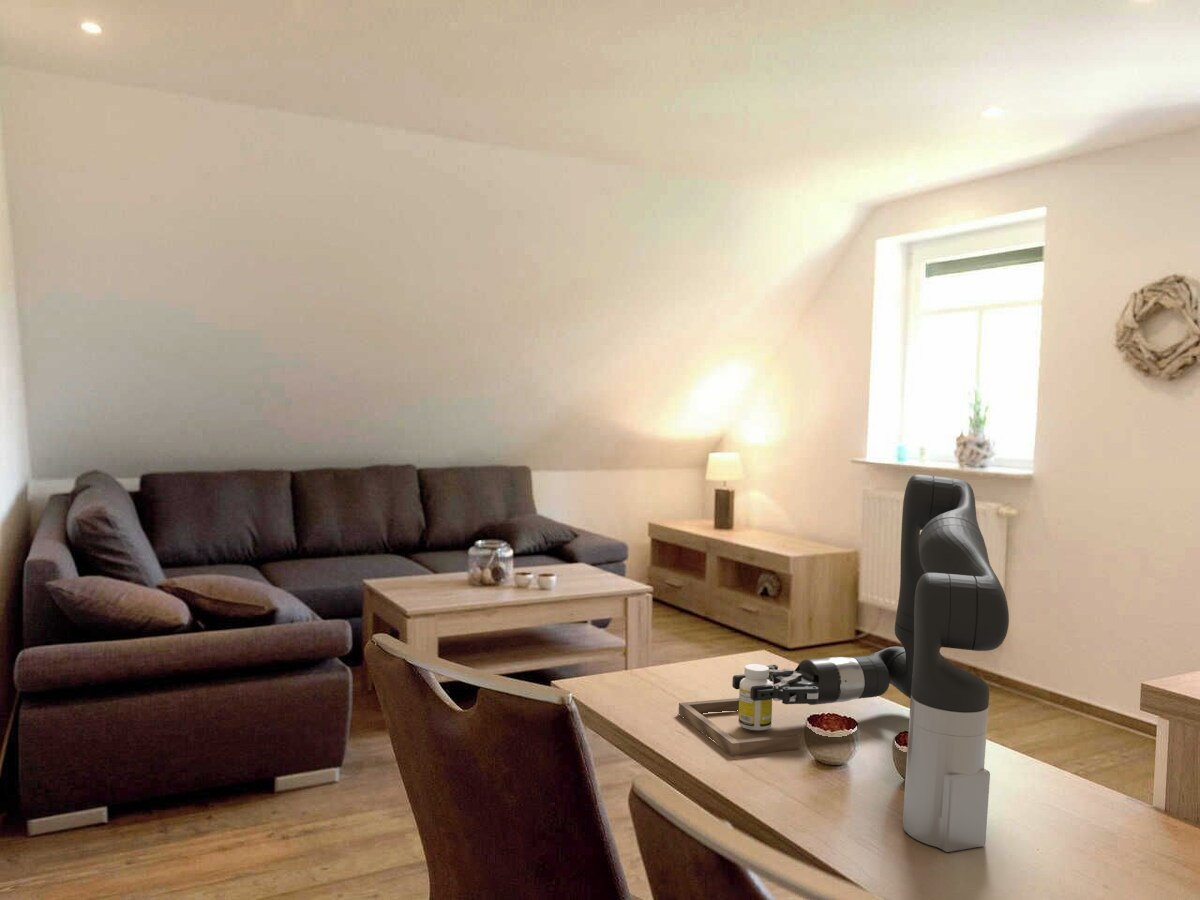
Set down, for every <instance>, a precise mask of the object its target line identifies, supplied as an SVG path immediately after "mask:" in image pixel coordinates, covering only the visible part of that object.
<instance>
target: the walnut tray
mask: <svg viewBox="0 0 1200 900" xmlns="http://www.w3.org/2000/svg"><path fill="white" fill-rule="evenodd" d="M737 710H738V711H739V697H736V698H735V697H734V698H721V699H713V700H712V699H710V700H699V701H698V700H697V701H688V702H687V701H686V702H678V715H679V714H680V715H681V716H682V717H684V718H683V719H684V720H685V719H686V720H687V721H686V720H685V721H686V722H687V723H689V724H690V723H691V724H692V725H691V724H690V725H691V726H693V727H694V728H695V727H696V728H697V730H698V731H699V730H700V731H701V732H700V731H699V732H700V733H702V732H703V733H704V734H705V735H707V736H708V737H710V738H711V739H712V740H714V741H715V742H716V743H717V744H718V745H719V746H720V747H719V746H718V745H717V744H716V743H715V744H716V745H717V746H718V747H719V748H720V749H722V750H723V749H724V750H725V752H726V753H727V754H728V755H729V756H731V757H738V756H745V755H746V756H747V755H755V754H757V755H758V754H765V753H774V752H775V753H776V752H784V751H785V752H786V751H793V750H794V751H795V750H800V749H801V736H800V735H799V734H797V733H790V734H781V735H780V734H779V735H773V736H772V735H771V736H770V735H769V736H762V737H761V736H760V737H751V738H742V739H741V738H740V739H735V738H734V737H732V736H731V735H730V734H728V733H727V732H725V731H724V730H723V729H721V728H720V727H719V726H718V725H716V724H715V723H714V722H713V721H711V720H709V719H708V718H707V717H706V716H704V715H702V714H703V713H708V712H722V711H737ZM680 715H679V716H680ZM681 716H680V717H681ZM682 717H681V718H682ZM696 728H695V729H696ZM703 733H702V734H703ZM704 734H703V735H704ZM705 735H704V736H705ZM707 736H706V737H707ZM708 737H707V738H708ZM712 740H711V741H712ZM724 750H723V751H724Z"/></svg>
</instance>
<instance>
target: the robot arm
mask: <svg viewBox="0 0 1200 900" xmlns="http://www.w3.org/2000/svg"><path fill="white" fill-rule="evenodd" d="M975 498H976V497H975V493H974V489H973V488H972V486H971V484H970V483H968V482H967V481H966V480H962V479H959V478H952V477H944V476H937V475H936V476H935V475H927V474H913V475H912V476H911V477H910V478H909V479H908V481H907V483H906V486H905V489H904V495H903V503H902V514H901V517H902V518H901V533H900V534H901V535H900V539H901V540H900V575H899V576H900V577H899V579H900V581H899V582H900V583H899V594H898V602H897V609H896V615H895V621H894V635H895V637H896V639H897V640H898V642H900V644H901V645H902V646H896V645H895V646H890V647H886V648H883V649H881V650H879V651H875V652H873V653H871V654H869V655H863V656H850V657H847V656H832V657H831V656H830V657H821V658H820V657H819V658H806V659H803V660H801V661H800V662H799V663H798V665H797V666H796V668H795V670H794V669H793V668H782V669H779V666H778V664H770V665H766V666H767V667H768V668H769V677H768V678H767V679H768V680H769V681H770V682H771V683H772V685H773V686H772V685H761V686H752V687H751V692H750V698H751V699H752V700H753V701H759V700H770V699H772V701H775V702H780V701H781V703H782V704H783V705H804V704H805V705H806V704H807V705H810V706H815V705H816V706H817V705H823V704H824V705H826V704H827V705H828V704H835V703H843V702H844V703H845V702H849V701H853V700H858V699H859V700H860V699H869V698H876V697H879V696H882V695H884V694H885V693H886V692H887V691H888V689H889V687H890V685H892V686H893V687H894V688H895V689H897V690H898V691H899V692H900V693H902V694H903V695H904V696H906V697H907V698H909V699H910V703H909V704H910V705H909V718H908V734H907V735H908V736H907V746H906V747H907V748H906V749H907V750H906V762H905V763H906V767H905V768H906V769H905V781H904V798H903V813H902V814H903V815H902V817H903V818H902V829H903V830H904V832H905V833H907V834H908V836H910V837H911V838H913V839H915V840H916V841H918V842H921V843H923V844H926V845H928V846H932V847H935V848H939V849H941V850H943V852H945V853H949V852H955V851H962V850H968V849H973V848H980V847H985V846H986V841H987V840H986V838H987V824H988V813H989V812H988V811H989V809H988V808H989V795H990V794H989V793H990V781H991V773H990V771H989V770H988V769H986V768H985V763H986V762H985V759H986V746H987V734H988V733H987V732H988V720H989V717H988V716H989V705H990V686H989V685H988V684H987V682H986V681H985V680H983V679H982V678H981V677H979V676H978V675H976V674H973V673H971V672H969V671H967V670H965V669H962V668H960V667H959V666H956V665H955V664H953V663H952V662H951V661H949V660H948V659H947V658H945V657H944V656H943V655H942V654H941V652H940V651H941V648H946V649H955V650H956V649H957V650H967V651H976V652H987V651H988V652H989V651H992V650H995V649H998V648H999V647H1000V646H1001V645H1002V644H1003V642H1004V641H1005V639H1006V637H1007V634H1008V631H1009V624H1010V616H1009V615H1010V614H1009V606H1008V601H1007V597H1006V594H1005V593H1006V592H1005V591H1004V588H1003V586H1002V584H1001V582H1000V580H999V577H998V576H997V575H996V573H995V571H994V569H993V567H992V566H991V563H990V559H989V554H988V549H987V546H986V542H985V539H984V536H983V534H982V532H981V529H980V526H979V523H978V517H977V507H976V499H975ZM744 674H745V673H744ZM744 674H736V675H733V676H732V683H731V685H732V686H731V687H732V688H734V690H740V681H741V680H742V679H743V678H746V676H745V675H744Z"/></svg>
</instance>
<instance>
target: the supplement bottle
mask: <svg viewBox="0 0 1200 900" xmlns="http://www.w3.org/2000/svg"><path fill="white" fill-rule="evenodd" d="M767 666H768V665H764V664H758V663H749V664H746V665H744V672H743V673H744V675H745V676H746V678H743V679H742V680H741V681H740V689H738V690H739V692H738V694H739V695H738V698H739V712H738V725H739V726H741V727H742V728H744V729H746V730H750V731H765V730H766V731H767V730H768V729H771V727H772V720H773V717H772V715H773V714H772V712H773V698H772V699H770V700H759V701H753V700H752V699H751V698H750V692H751V687H752V686H761V685H772V686H774V685H773V682H772V681H771V682H770V681H769V680H768V679H767V678H768V677H769V668H768V667H767Z"/></svg>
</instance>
